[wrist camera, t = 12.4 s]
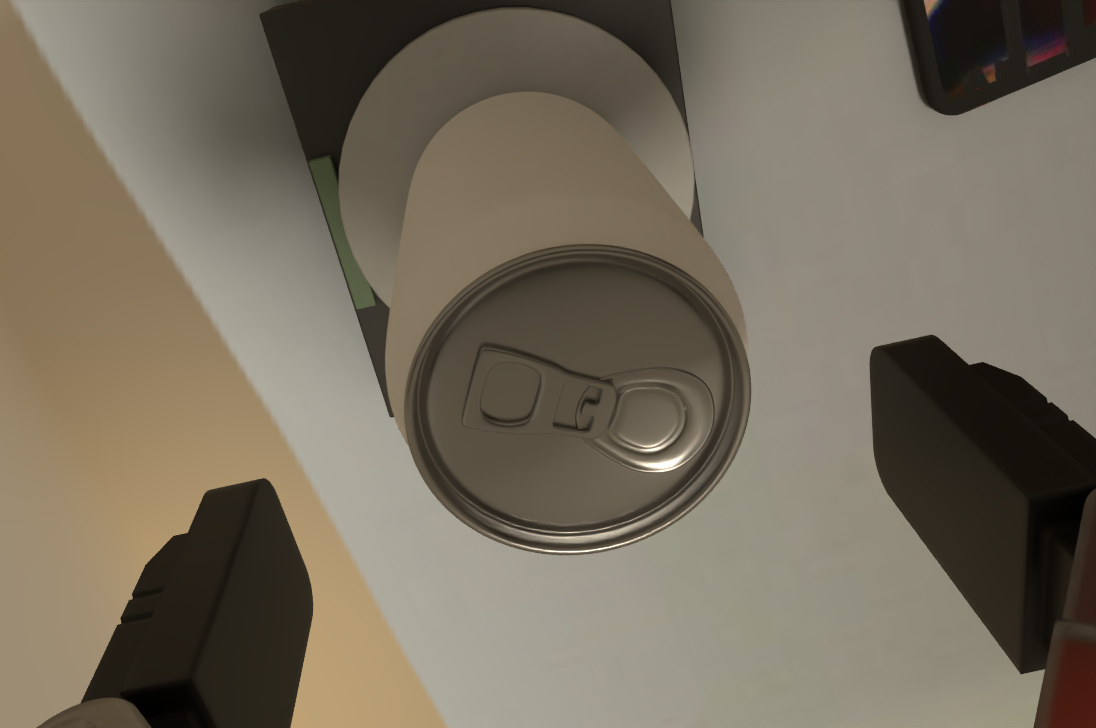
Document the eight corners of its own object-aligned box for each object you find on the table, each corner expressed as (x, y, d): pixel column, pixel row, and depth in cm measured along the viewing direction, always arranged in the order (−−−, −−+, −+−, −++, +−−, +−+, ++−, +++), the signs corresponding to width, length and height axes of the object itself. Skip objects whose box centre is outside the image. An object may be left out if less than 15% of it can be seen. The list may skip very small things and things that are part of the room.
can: (604, 336, 28) (703, 602, 17) (387, 290, 26) (343, 544, 16) (672, 121, 25) (839, 270, 14) (435, 59, 24) (422, 171, 13)
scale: (271, 7, 25) (254, 16, 23) (644, -79, 25) (664, -79, 23) (393, 389, 31) (388, 427, 28) (702, 318, 31) (723, 351, 28)
